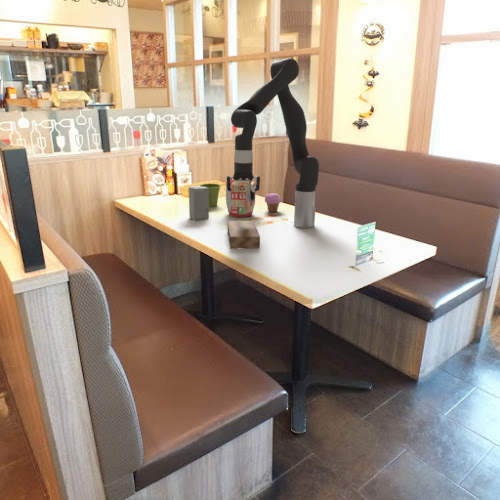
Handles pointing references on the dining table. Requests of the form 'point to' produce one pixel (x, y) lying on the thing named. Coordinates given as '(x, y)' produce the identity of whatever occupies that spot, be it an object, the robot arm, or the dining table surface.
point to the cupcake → (272, 201)
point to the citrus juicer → (228, 202)
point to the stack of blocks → (241, 197)
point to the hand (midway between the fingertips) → (243, 200)
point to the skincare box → (199, 202)
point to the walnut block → (243, 234)
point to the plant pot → (213, 193)
